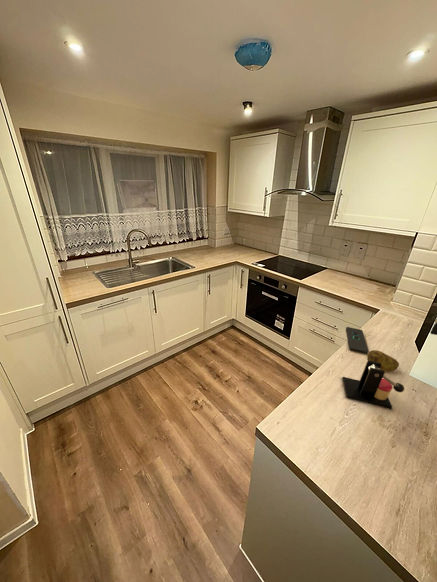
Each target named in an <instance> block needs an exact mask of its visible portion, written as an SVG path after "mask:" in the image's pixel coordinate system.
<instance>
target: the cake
mask: <svg viewBox="0 0 437 582" xmlns="http://www.w3.org/2000/svg"><path fill="white" fill-rule="evenodd" d="M392 390H393V385H392V384H390V383H389V382H388V381H386V380H385V379H384V378H382V380H381V382H380V384H379V387H378V389H377V391H376V393H375V396H374V397H376V398H378V399H380V400H386V399H387V397H388V398H389V395H390V393H391V391H392Z"/></svg>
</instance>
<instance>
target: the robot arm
mask: <svg viewBox="0 0 437 582" xmlns="http://www.w3.org/2000/svg"><path fill="white" fill-rule="evenodd" d="M435 317H436V319H434V324H433V326H432V328H431V330H430V332H429V333H430V335H434V336H437V314H436V315H435Z"/></svg>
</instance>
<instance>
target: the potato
mask: <svg viewBox="0 0 437 582" xmlns="http://www.w3.org/2000/svg"><path fill="white" fill-rule="evenodd" d="M366 360H367V361H368V360H369V361H374V362H379V363H381V364H382V365H381V367H380V370H384V371H385V372H387V373H388V372H394V371H396V370H397V369H398V368H399V367H400V363H399V361H398V360H397V359H395V358H394V357H392V356H390V355H388V354H386V353H384V352H383V351H380V350H377V349H373V350H370V351H368V354H367V358H366Z"/></svg>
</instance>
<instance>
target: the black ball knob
mask: <svg viewBox="0 0 437 582" xmlns="http://www.w3.org/2000/svg"><path fill="white" fill-rule="evenodd" d="M368 368H369V370H370V368H375V369H380V368H379V367H377V366H376V365H374V364H372V365H371V366H369V367H368ZM382 379H385V380H386V381H388V382H389V383H390V384H391V385H392V389H393V390H394V391H395V392H397V393H403V392H404V391H405V386H404V384H402V383H400V382H395V381H394V380H392V379H390V377H388V376H387V375H386V374H384V376H383V378H382Z"/></svg>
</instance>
